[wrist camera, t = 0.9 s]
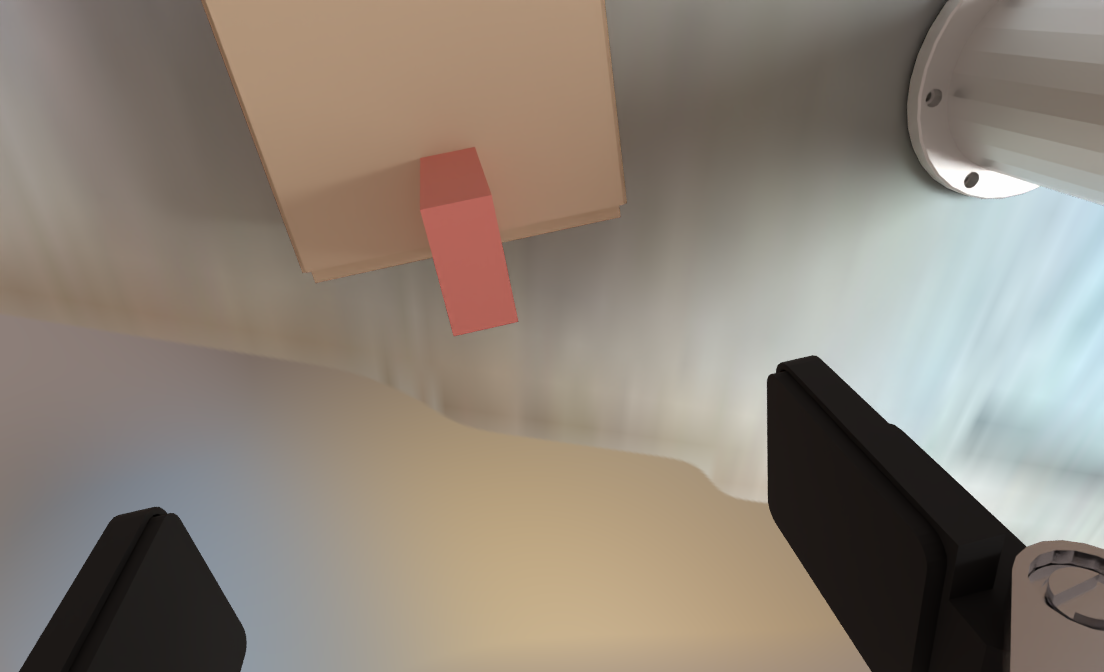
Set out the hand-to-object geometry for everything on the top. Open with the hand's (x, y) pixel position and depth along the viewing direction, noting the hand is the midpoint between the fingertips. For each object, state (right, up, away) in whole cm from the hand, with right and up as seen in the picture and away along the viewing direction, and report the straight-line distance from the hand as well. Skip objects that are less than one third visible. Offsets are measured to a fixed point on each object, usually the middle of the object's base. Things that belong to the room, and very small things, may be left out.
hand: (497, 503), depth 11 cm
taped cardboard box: (-3, +11, +13) cm, 17 cm away
